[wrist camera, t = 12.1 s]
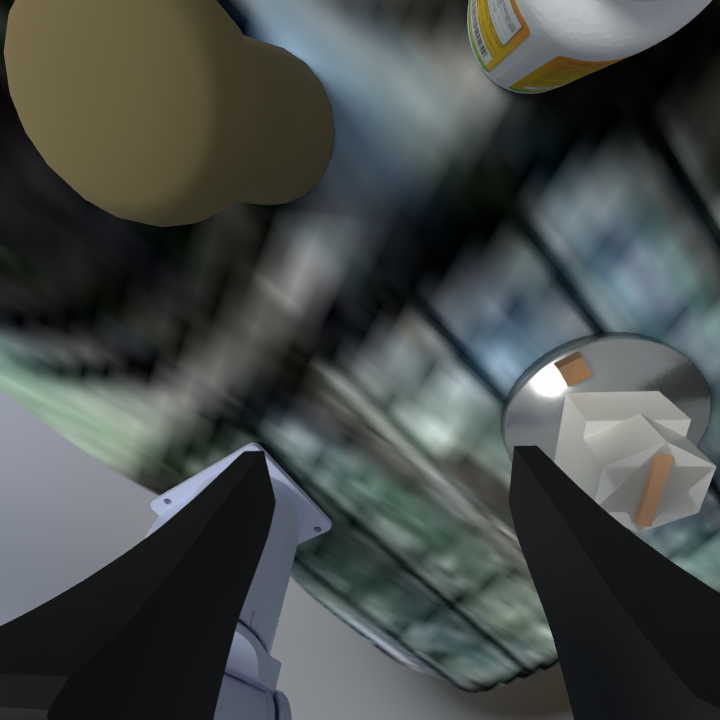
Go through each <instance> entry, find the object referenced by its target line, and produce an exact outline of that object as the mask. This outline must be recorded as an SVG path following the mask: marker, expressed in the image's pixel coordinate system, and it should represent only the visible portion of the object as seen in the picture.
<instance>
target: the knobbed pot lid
mask: <svg viewBox="0 0 720 720" xmlns="http://www.w3.org/2000/svg"><path fill="white" fill-rule="evenodd" d="M636 391H659V392H660V393H662V394H663V395H664V396H665V397H666V398H667V399H668V400H669V401H671V402H672V403H673V404H674V405H675V406H676V407H677V408H679V409H680V410H681V411H682V412H683V413H684V414H685V415H687V416H688V417H689V418H690V419H691V422H690V425H689V428H688V431H687V434H686V438H687V439H688V440H689V441H690V442H691V443H692V444H693V445H695V446H696V447H697V445H698V443H699V442H700V440H701V438H702V437H703V434H704V432H705V430H706V427H707V424H708V420H709V416H710V407H711V402H710V393H709V390H708V386H707V383H706V381H705V379H704V377H703V375H702V374H701V372H700V371H699V370H698V369H697V367H696V366H695V365H694V364H693V363H692V362H691V361H690V360H688V359H687V358H686V357H685V356H683V355H682V354H680V353H679V352H678V351H676V350H675V349H673V348H671V347H670V346H668V345H667V344H665V343H663V342H661V341H659V340H656V339H654V338H652V337H648V336H644V335H640V334H634V333H626V332H610V333H600V334H594V335H590V336H585V337H582V338H579V339H576V340H573V341H570V342H567V343H565V344H563V345H561V346H559V347H557V348H555V349H553V350H551V351H550V352H548V353H546V354H545V355H543V356H542V357H541V358H539V359H538V360H537V361H535V362H534V363H533V364H532V365H531V366H530V367H529V368H528V369H527V370H525V372H524V373H523V374H522V375H521V376H520V377H519V379H518V380H517V381H516V383H515V384H514V386H513V387H512V389H511V390H510V392H509V395H508V397H507V399H506V401H505V404H504V408H503V411H502V418H501V432H502V437H503V441H504V444H505V447H506V449H507V452H508V454H509V457H510V459H511V461H512V463H513V452H514V446H533V445H537V446H538V447H539V448H540V449H541V450H542V451H543V452H544V453H545V454H546V455H547V456H548V457H549V458H550V459H551V460H552V461H553V462H554V461H555V455H556V449H557V443H558V437H559V431H560V425H561V420H562V414H563V408H564V402H565V396H566V393H588V392H636ZM554 463H555V462H554Z"/></svg>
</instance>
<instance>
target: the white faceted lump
mask: <svg viewBox="0 0 720 720" xmlns="http://www.w3.org/2000/svg"><path fill="white" fill-rule="evenodd" d="M690 422H691V419H690V418H689V417H688V416H687V415H685V414H684V413H683V412H682V411H681V410H680V409H679V408H677V407H676V406H675V405H674V404H673V403H672V402H671V401H669V400H668V399H667V398H666V397H665V396H664V395H663V394H662V393H660V392H659V391H636V392H588V393H566V396H565V402H564V408H563V414H562V420H561V425H560V431H559V437H558V443H557V449H556V455H555V461H554V462H555V464H556V465H557V466H558V467H559V468H560V469H561V470H562V471H563V472H564V473H565V474H566V475H567V476H568V477H569V478H570V479H572V480H573V481H574V482H575V483H576V484H577V485H578V486H579V487H580V488H581V489H582V490H583V491H584V492H585V493H586V494H588V495H589V496H590V497H591V498H592V499H593V500H594V501H595V502H596V503H597V504H598V505H600V506H601V507H602V508H603V509H604V510H605V511H606V512H608V513H609V514H610V515H611V516H612V517H614V518H615V519H616V520H617V521H618V522H620V523H621V524H622V525H623V526H624V527H626V528H628V529H631V530H633V531H635V532H637V533H640V532H643V531H646V530H649V529H652V528H655V527H658V526H661V525H664V524H667V523H670V522H673V521H676V520H678V519H681V518H684V517H687V516H690V515H693V514H696V513H699V511H700V508H701V505H702V503H703V500H704V498H705V495H706V492H707V490H708V487H709V485H710V482H711V479H712V477H713V474H714V472H715V469H716V466H715V465H714V464H713V463H712V462H711V461H710V460H709V459H708V458H707V457H706V456H705V455H704V454H703V453H702V452H701V451H700V450H699V449H698V448H697V447H696V446H695V445H693V444H692V443H691V442H690V441H689V440H688V439H687V438H686V434H687V431H688V428H689V425H690Z"/></svg>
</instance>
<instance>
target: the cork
mask: <svg viewBox="0 0 720 720" xmlns="http://www.w3.org/2000/svg"><path fill="white" fill-rule="evenodd" d="M4 56H5V63H6V70H7V77H8V84H9V90H10V95H11V97H12V100H13V102H14V105H15V107H16V110H17V112H18V115H19V117H20V120H21V122H22V125H23V127H24V130H25V132H26V133H27V135H28V136H29V138H30V139H31V141H32V142H33V144H34V145H35V147H36V148H37V150H38V151H39V152H40V154H41V155H42V157H43V158H44V160H45V161H46V163H47V164H48V165H49V166H50V167H51V168H52V169H53V170H54V171H55V172H56V173H57V174H58V175H59V176H60V177H61V178H63V179H64V180H65V181H66V182H67V183H68V184H69V185H70V186H71V187H72V188H73V189H74V190H75V191H77V192H78V193H79V194H80V195H81V196H82V197H83V198H84V199H85V200H87V201H89V202H91V203H93V204H95V205H96V206H98V207H100V208H102V209H104V210H105V211H107V212H109V213H111V214H113V215H114V216H116V217H119V218H123V219H128V220H132V221H137V222H141V223H146V224H150V225H155V226H161V227H166V226H175V225H184V224H194V223H196V222H199V221H202V220H204V219H206V218H208V217H210V216H212V215H214V214H216V213H218V212H220V211H222V210H224V209H225V208H227V207H229V206H230V205H231V204H232V203H233V202H234V201H236V202H244V203H252V204H260V205H276V204H285V203H289V202H291V201H293V200H295V199H297V198H299V197H301V196H303V195H305V194H307V193H308V192H309V191H310V190H311V189H312V188H313V187H314V185H315V184H316V183H317V182H318V181H319V180H320V179H321V178H322V176H323V173H324V171H325V169H326V167H327V165H328V163H329V161H330V159H331V154H332V148H333V142H334V135H335V132H334V124H333V115H332V108H331V105H330V103H329V100H328V98H327V95H326V93H325V91H324V88H323V86H322V83H321V82H320V81H319V80H318V78H317V77H316V76H315V75H314V73H313V72H312V71H311V69H310V68H309V67H308V66H307V64H306V63H305V62H303V61H302V60H300V59H299V58H297V57H296V56H294V55H293V54H291V53H290V52H288V51H287V50H285V49H284V48H281V47H278V46H275V45H272V44H268V43H265V42H262V41H259V40H256V39H253V38H250V37H247V36H244V35H243V34H242V32H241V30H240V28H239V27H238V26H237V25H236V24H235V22H234V21H233V20H232V19H231V18H230V16H229V15H228V14H227V13H226V11H225V10H224V9H223V8H222V7H221V5H220V4H219V3H218V2H217V1H216V0H15V2H14V4H13V6H12V8H11V10H10V12H9V17H8V25H7V32H6V40H5V47H4Z"/></svg>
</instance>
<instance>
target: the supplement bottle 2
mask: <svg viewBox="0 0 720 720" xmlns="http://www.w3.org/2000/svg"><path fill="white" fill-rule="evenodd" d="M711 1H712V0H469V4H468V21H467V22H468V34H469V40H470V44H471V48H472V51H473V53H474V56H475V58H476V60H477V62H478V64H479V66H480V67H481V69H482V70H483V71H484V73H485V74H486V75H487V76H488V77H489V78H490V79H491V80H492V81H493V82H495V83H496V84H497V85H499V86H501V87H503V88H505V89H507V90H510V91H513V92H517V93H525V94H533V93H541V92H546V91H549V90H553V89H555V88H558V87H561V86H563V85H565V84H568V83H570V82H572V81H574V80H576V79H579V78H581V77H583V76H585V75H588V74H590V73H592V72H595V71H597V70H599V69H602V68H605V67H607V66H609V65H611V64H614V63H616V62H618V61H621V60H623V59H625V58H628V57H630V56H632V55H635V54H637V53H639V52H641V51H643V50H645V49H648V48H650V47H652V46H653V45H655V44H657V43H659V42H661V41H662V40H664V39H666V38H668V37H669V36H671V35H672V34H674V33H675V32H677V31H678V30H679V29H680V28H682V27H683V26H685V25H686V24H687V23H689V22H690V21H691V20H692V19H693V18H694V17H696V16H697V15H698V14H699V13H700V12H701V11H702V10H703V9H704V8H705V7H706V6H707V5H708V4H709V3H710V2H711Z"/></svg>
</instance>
